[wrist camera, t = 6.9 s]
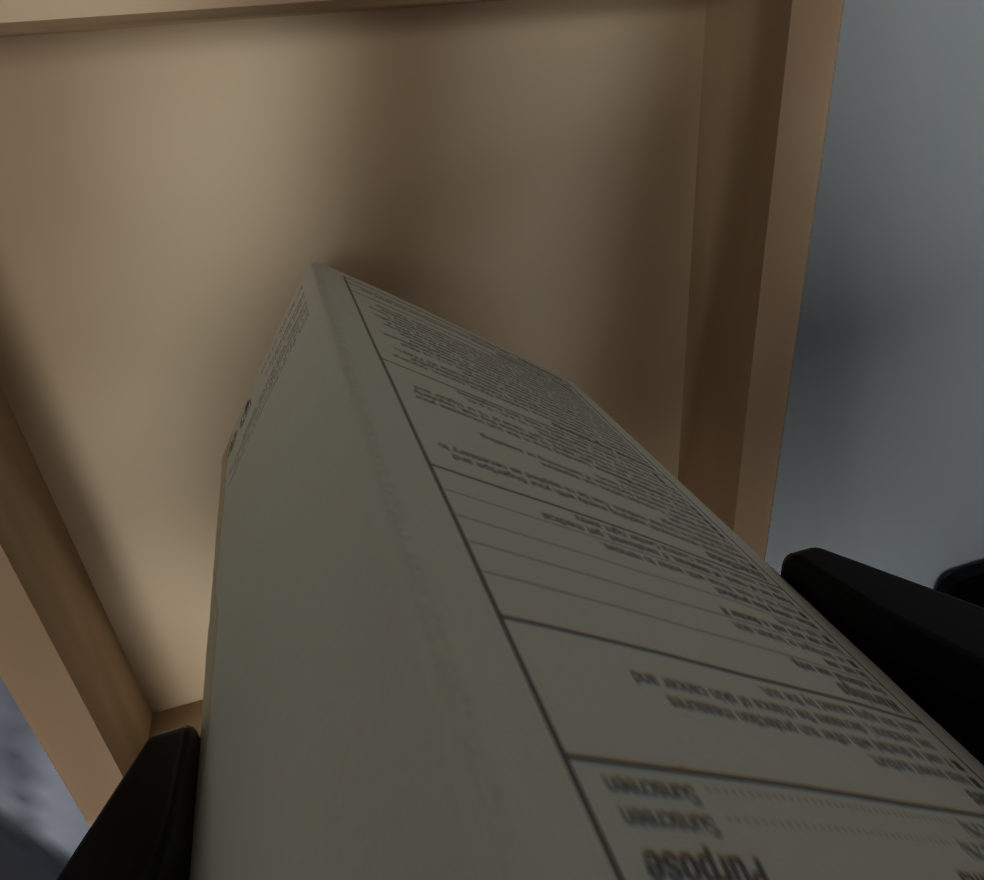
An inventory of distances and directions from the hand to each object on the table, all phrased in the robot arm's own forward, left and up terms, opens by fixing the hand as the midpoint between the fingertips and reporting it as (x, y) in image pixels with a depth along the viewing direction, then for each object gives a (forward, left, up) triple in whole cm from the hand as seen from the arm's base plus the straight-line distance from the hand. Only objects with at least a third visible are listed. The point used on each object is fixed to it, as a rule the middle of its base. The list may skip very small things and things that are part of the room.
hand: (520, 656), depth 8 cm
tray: (0, 0, -9) cm, 9 cm away
